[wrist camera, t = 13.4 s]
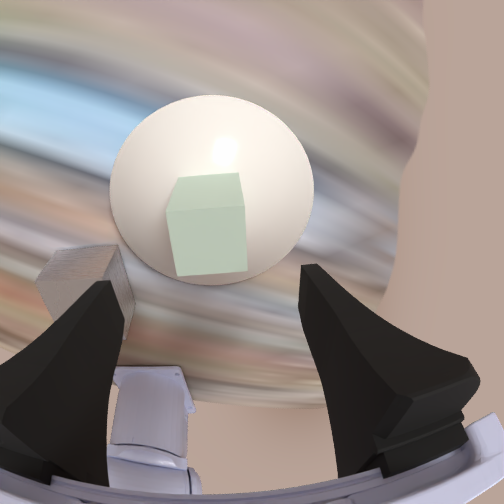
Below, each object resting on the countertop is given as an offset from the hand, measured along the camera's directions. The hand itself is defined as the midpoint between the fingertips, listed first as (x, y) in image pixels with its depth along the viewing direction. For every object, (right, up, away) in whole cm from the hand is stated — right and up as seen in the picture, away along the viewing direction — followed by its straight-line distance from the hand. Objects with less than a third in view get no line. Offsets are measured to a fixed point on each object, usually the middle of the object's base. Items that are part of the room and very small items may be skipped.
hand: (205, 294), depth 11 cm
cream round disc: (-1, +5, +8) cm, 10 cm away
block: (-1, +5, +8) cm, 9 cm away
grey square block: (-11, 0, +11) cm, 15 cm away
